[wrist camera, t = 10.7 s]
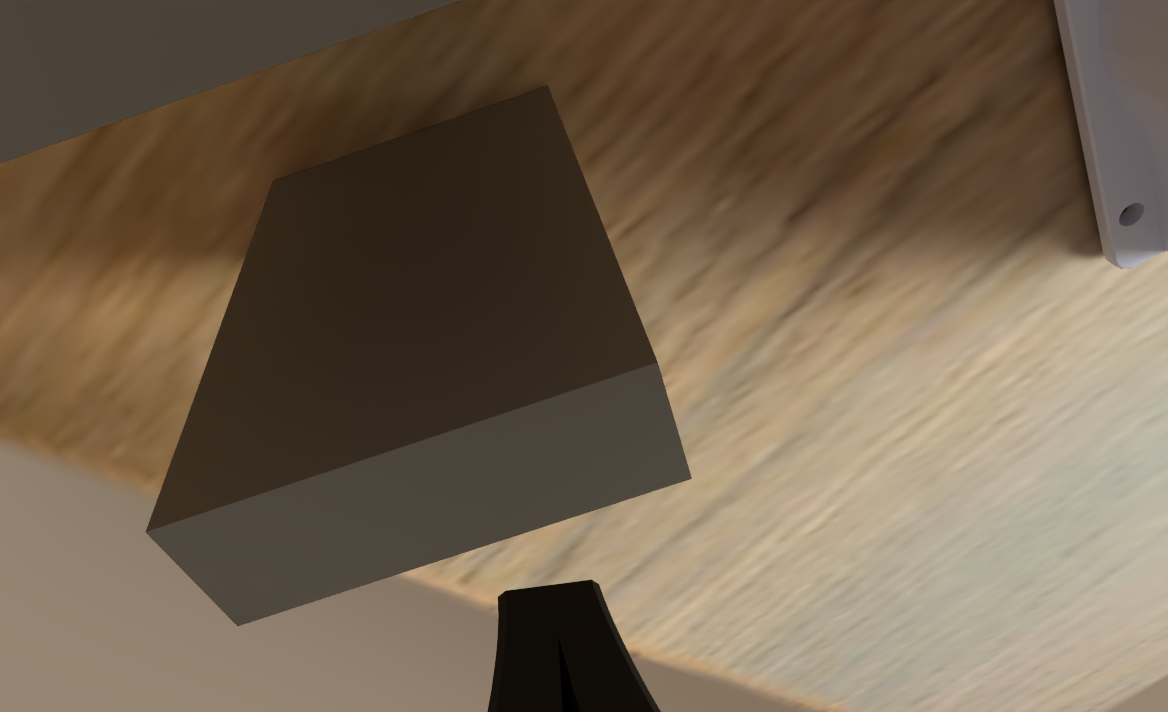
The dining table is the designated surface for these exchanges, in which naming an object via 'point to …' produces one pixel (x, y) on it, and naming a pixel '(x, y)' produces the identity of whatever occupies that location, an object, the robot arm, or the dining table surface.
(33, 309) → the dining table surface
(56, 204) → the dining table surface
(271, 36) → the domino
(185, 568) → the domino
